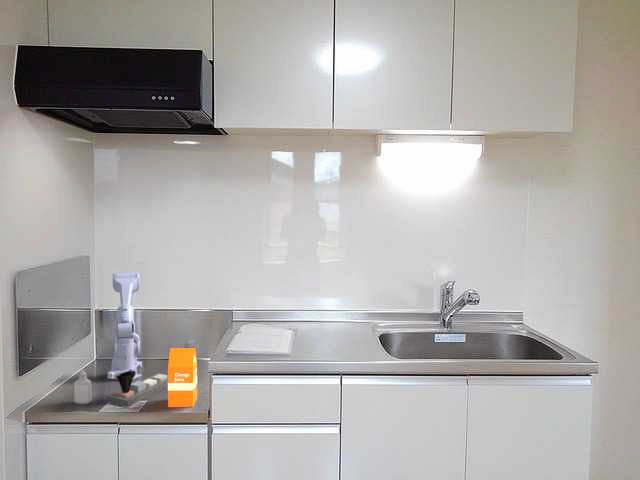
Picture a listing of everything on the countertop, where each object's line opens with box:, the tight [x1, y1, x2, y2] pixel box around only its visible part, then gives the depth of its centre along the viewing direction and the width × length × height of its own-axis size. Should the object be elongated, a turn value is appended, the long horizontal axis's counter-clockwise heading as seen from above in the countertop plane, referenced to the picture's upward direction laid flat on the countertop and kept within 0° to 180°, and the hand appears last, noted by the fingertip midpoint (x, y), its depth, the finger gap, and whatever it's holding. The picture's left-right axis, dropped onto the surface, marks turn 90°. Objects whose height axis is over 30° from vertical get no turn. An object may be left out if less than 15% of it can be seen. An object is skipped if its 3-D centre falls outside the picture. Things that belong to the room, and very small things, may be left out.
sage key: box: [153, 373, 168, 381], centre depth 191 cm, size 4×4×2 cm
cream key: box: [143, 379, 157, 387], centre depth 185 cm, size 4×4×2 cm
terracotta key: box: [117, 390, 134, 398], centre depth 174 cm, size 4×4×2 cm
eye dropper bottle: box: [73, 368, 93, 405], centre depth 171 cm, size 4×6×12 cm
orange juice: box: [167, 347, 198, 408], centre depth 172 cm, size 8×9×20 cm
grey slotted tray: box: [106, 372, 168, 407], centre depth 182 cm, size 10×26×2 cm, turn 157°
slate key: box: [130, 380, 146, 392], centre depth 180 cm, size 4×4×2 cm
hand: (125, 391), depth 174 cm, fingers closed
